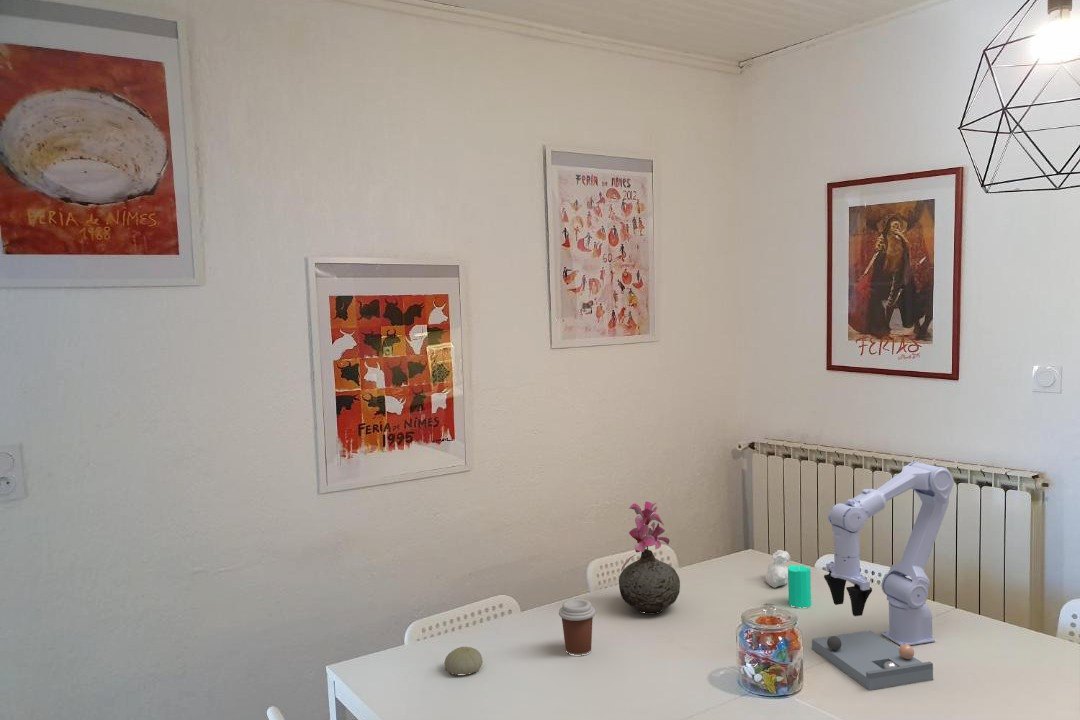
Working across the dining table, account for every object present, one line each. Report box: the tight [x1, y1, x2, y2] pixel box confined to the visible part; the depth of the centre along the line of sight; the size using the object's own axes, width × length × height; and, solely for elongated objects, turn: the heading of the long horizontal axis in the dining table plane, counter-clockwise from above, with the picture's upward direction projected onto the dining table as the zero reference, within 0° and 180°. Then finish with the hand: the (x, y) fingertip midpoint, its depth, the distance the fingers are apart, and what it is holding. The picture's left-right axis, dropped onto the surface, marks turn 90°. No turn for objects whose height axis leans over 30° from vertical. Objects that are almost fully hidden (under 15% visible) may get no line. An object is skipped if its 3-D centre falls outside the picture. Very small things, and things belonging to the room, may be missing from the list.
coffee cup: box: [558, 598, 596, 655], centre depth 194 cm, size 9×9×12 cm
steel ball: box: [883, 661, 898, 669], centre depth 174 cm, size 3×3×3 cm
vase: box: [618, 501, 681, 614], centre depth 218 cm, size 17×18×30 cm
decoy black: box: [827, 635, 842, 650], centre depth 183 cm, size 3×3×3 cm
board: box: [811, 630, 934, 691], centre depth 181 cm, size 16×22×4 cm
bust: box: [764, 549, 791, 589], centre depth 235 cm, size 12×8×11 cm
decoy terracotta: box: [898, 644, 915, 659], centre depth 177 cm, size 3×3×3 cm
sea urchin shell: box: [444, 646, 484, 676], centre depth 187 cm, size 9×8×8 cm
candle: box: [787, 564, 812, 608], centre depth 217 cm, size 6×6×12 cm
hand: (847, 609), depth 188 cm, fingers open, 7 cm apart
